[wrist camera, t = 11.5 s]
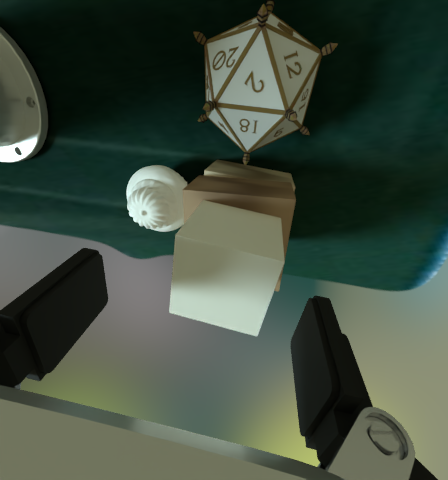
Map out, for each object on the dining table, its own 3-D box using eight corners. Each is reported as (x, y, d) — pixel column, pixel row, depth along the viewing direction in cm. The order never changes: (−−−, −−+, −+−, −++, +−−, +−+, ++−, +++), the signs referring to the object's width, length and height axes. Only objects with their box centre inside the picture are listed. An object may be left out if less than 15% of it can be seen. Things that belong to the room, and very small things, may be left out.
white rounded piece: (194, 224, 26) (171, 258, 20) (142, 206, 26) (103, 234, 20) (208, 170, 23) (186, 190, 17) (149, 149, 23) (105, 162, 17)
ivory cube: (203, 200, 15) (175, 234, 11) (281, 218, 15) (284, 261, 10) (194, 263, 18) (169, 312, 13) (261, 280, 17) (257, 336, 13)
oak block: (208, 224, 26) (196, 247, 22) (217, 159, 23) (204, 170, 18) (272, 238, 25) (272, 264, 21) (290, 173, 22) (295, 188, 18)
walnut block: (200, 251, 22) (186, 278, 18) (199, 175, 18) (182, 189, 15) (277, 261, 21) (278, 291, 17) (291, 182, 18) (295, 199, 14)
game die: (246, 113, 24) (165, 149, 19) (259, -12, 17) (138, -8, 12) (329, 147, 20) (254, 203, 15) (386, 2, 13) (286, 17, 8)
